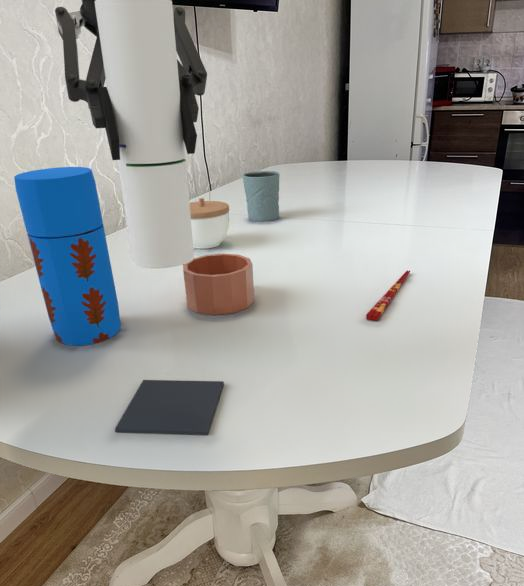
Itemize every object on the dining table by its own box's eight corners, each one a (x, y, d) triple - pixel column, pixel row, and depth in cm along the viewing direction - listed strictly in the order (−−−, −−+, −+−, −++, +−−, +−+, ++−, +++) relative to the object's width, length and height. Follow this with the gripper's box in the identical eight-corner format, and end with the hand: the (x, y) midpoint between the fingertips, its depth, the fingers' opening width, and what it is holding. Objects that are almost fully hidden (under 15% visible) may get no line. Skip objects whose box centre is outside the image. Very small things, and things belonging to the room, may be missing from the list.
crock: (174, 301, 96) (170, 264, 93) (228, 284, 103) (225, 249, 99) (211, 320, 88) (207, 281, 84) (267, 301, 94) (265, 263, 91)
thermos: (70, 353, 79) (28, 183, 68) (43, 331, 87) (1, 174, 75) (134, 330, 86) (106, 171, 74) (104, 312, 93) (74, 164, 81)
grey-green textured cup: (274, 223, 142) (272, 177, 137) (239, 221, 146) (236, 176, 140) (285, 214, 151) (284, 170, 145) (252, 212, 154) (249, 170, 148)
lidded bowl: (203, 234, 135) (199, 191, 130) (242, 241, 128) (239, 195, 123) (168, 247, 126) (162, 201, 121) (208, 255, 119) (204, 206, 114)
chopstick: (411, 273, 103) (412, 269, 103) (377, 321, 85) (377, 316, 84) (401, 272, 104) (402, 267, 104) (365, 319, 86) (366, 314, 85)
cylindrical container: (169, 245, 65) (144, 7, 54) (206, 257, 61) (187, 0, 49) (120, 259, 61) (80, 3, 49) (155, 273, 56) (121, -6, 45)
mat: (115, 432, 61) (114, 428, 61) (143, 382, 71) (143, 379, 71) (207, 435, 60) (207, 431, 60) (224, 384, 70) (223, 381, 69)
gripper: (195, 7, 64) (242, 163, 58) (22, 7, 59) (55, 180, 53) (201, -56, 57) (256, 114, 51) (6, -63, 52) (42, 127, 46)
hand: (154, 147), depth 52 cm, fingers closed on cylindrical container, 7 cm apart
